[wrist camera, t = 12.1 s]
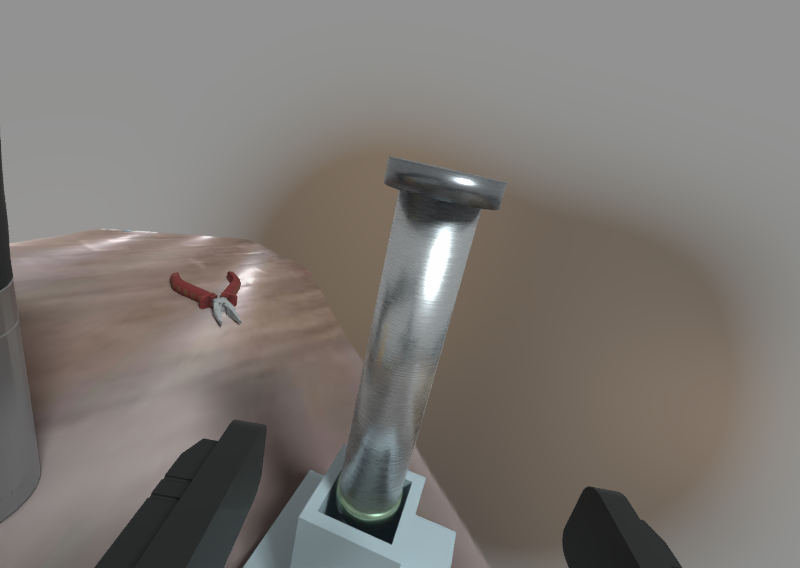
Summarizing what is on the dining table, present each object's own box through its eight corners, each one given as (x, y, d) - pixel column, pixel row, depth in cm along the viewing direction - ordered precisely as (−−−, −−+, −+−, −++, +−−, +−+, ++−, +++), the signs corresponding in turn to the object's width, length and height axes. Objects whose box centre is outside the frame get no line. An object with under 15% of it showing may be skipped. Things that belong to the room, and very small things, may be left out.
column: (307, 520, 22) (371, 153, 15) (345, 455, 27) (406, 159, 21) (394, 560, 21) (506, 183, 14) (417, 485, 26) (507, 182, 19)
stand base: (189, 659, 22) (193, 549, 19) (308, 481, 35) (322, 399, 32) (411, 789, 19) (459, 685, 16) (451, 544, 32) (482, 460, 29)
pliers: (189, 335, 54) (189, 319, 53) (168, 283, 68) (168, 270, 68) (267, 326, 61) (269, 312, 60) (234, 281, 76) (235, 269, 75)
